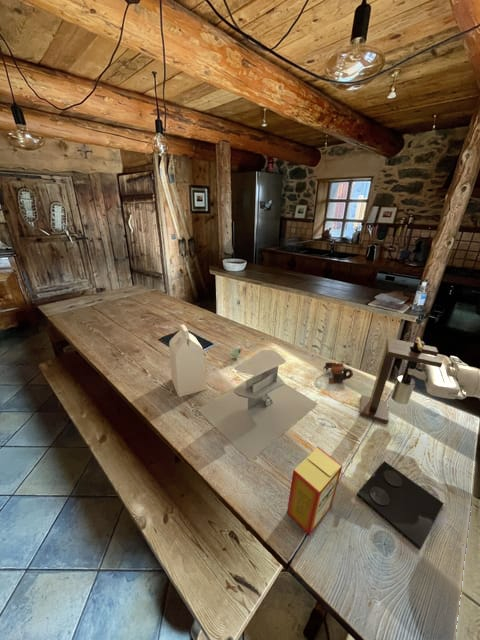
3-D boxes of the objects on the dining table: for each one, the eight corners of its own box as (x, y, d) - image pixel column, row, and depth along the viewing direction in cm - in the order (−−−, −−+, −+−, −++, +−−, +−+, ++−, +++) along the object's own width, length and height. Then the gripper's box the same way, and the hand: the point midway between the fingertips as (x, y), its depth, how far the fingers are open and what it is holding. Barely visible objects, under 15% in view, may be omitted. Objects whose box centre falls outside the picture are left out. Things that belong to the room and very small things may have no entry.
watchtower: (250, 461, 78) (252, 411, 69) (196, 409, 96) (193, 364, 88) (318, 403, 100) (326, 360, 91) (264, 370, 118) (266, 331, 110)
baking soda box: (308, 535, 61) (319, 492, 54) (286, 512, 65) (293, 469, 59) (331, 506, 67) (342, 464, 60) (309, 487, 71) (318, 445, 64)
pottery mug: (321, 382, 112) (321, 362, 113) (326, 380, 120) (326, 361, 121) (352, 385, 106) (351, 364, 106) (355, 382, 114) (354, 363, 115)
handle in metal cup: (407, 395, 93) (427, 338, 84) (409, 408, 88) (431, 349, 78) (390, 390, 95) (409, 335, 86) (391, 403, 90) (411, 345, 80)
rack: (411, 412, 97) (436, 347, 85) (414, 432, 88) (442, 363, 77) (360, 397, 103) (377, 335, 91) (359, 415, 95) (377, 349, 83)
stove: (442, 505, 67) (444, 502, 67) (419, 549, 59) (421, 546, 58) (383, 463, 78) (384, 460, 77) (356, 495, 69) (357, 492, 69)
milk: (207, 389, 106) (204, 331, 95) (178, 397, 102) (172, 338, 90) (197, 372, 116) (194, 318, 105) (171, 379, 111) (165, 323, 100)
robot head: (236, 353, 130) (236, 341, 127) (243, 355, 129) (244, 343, 126) (228, 361, 124) (228, 349, 121) (236, 363, 122) (236, 351, 119)
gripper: (464, 409, 74) (407, 394, 79) (448, 369, 91) (402, 359, 96) (473, 391, 71) (413, 377, 76) (455, 354, 88) (407, 344, 93)
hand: (407, 367), depth 86 cm, fingers closed on handle in metal cup, 2 cm apart
